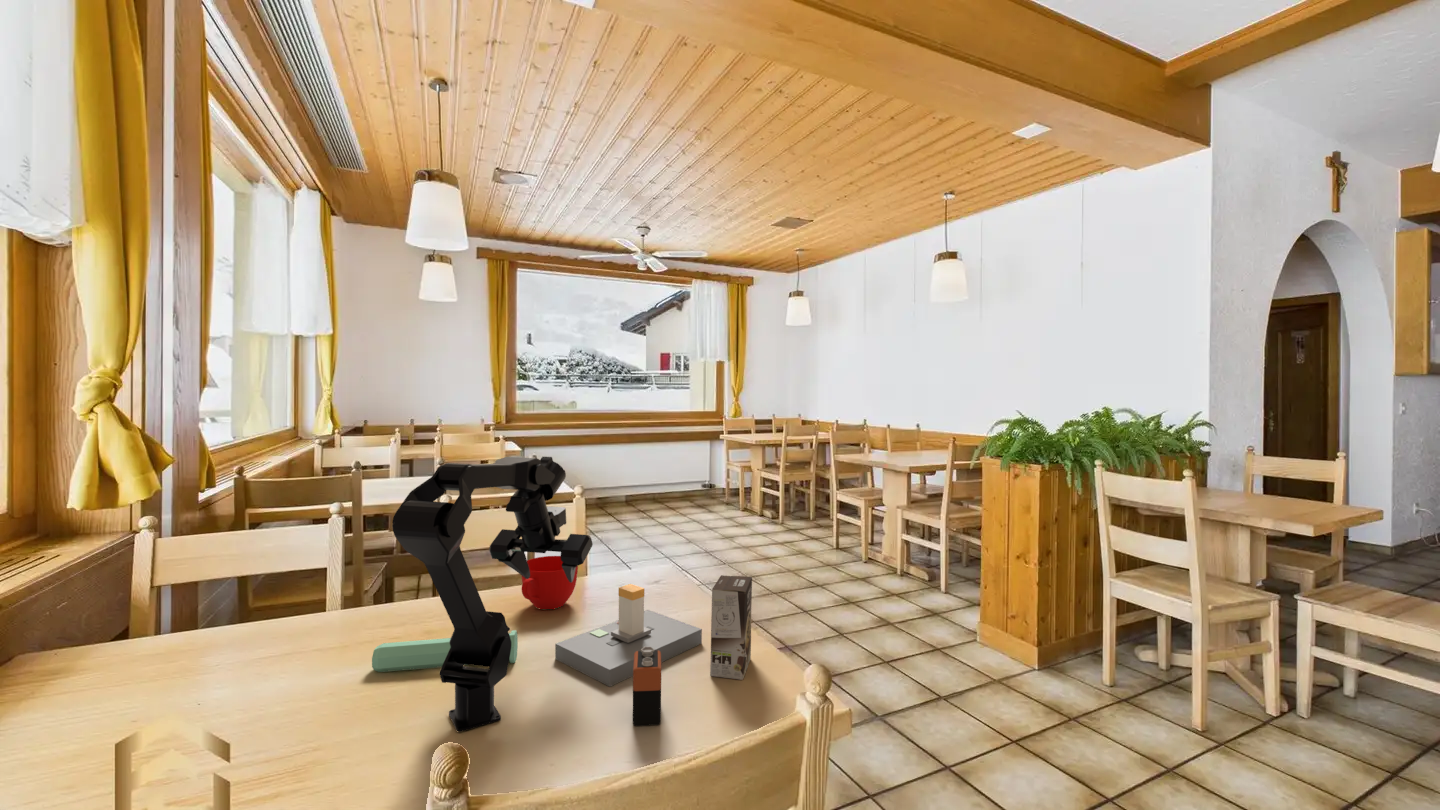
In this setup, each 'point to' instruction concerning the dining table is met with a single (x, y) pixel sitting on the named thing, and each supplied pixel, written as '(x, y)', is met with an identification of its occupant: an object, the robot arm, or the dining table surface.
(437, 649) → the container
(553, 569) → the ceramic cup
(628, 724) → the dining table surface
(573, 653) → the panel
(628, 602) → the breaker handle
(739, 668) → the coffee box
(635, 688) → the battery
